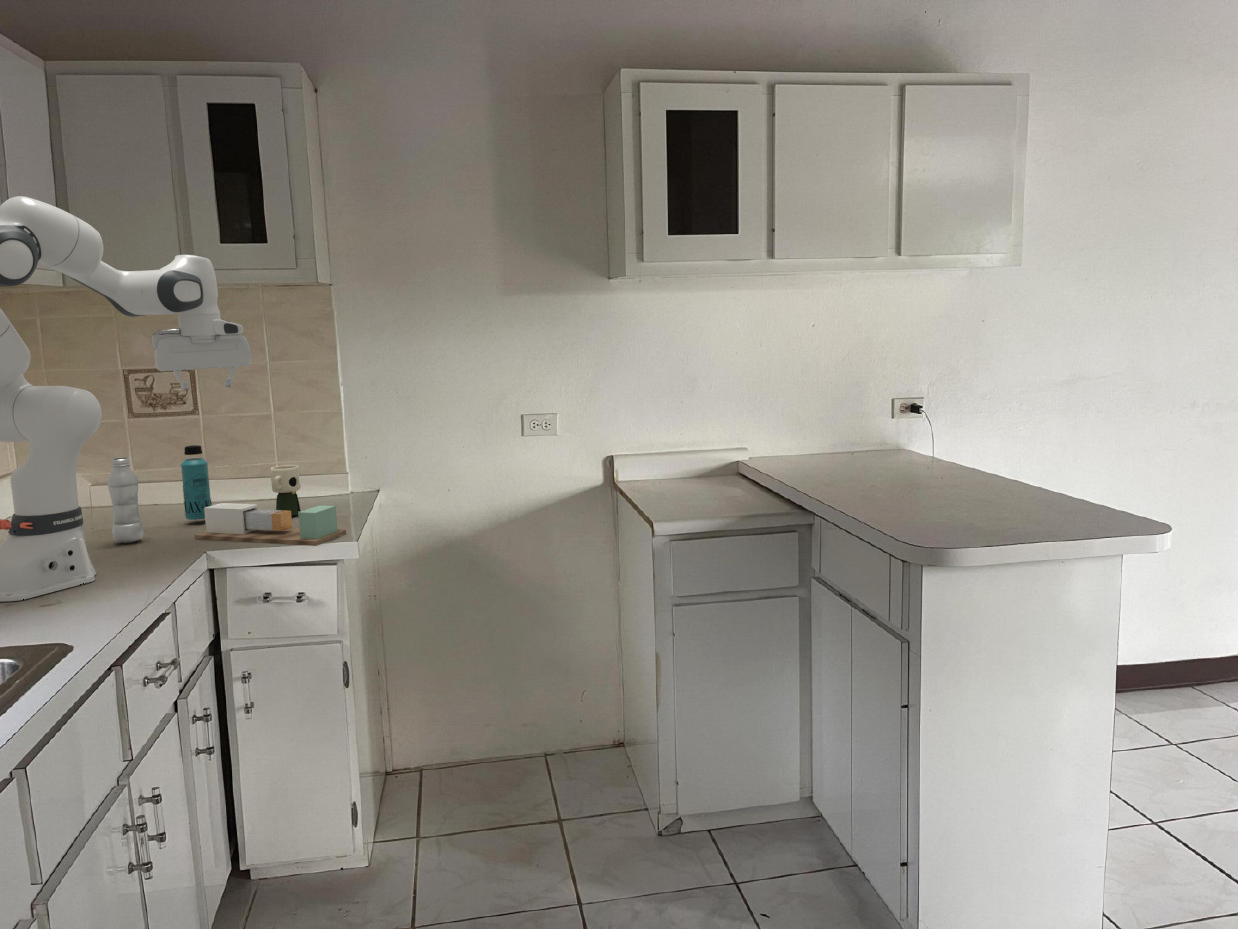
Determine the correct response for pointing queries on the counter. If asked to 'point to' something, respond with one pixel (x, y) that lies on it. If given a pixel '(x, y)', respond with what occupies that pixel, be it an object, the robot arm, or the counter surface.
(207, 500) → the beverage bottle
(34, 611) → the counter surface
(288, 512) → the rectangular peg
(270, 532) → the baseboard
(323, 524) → the socket
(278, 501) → the character mug
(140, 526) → the plastic bottle
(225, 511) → the sleeve
